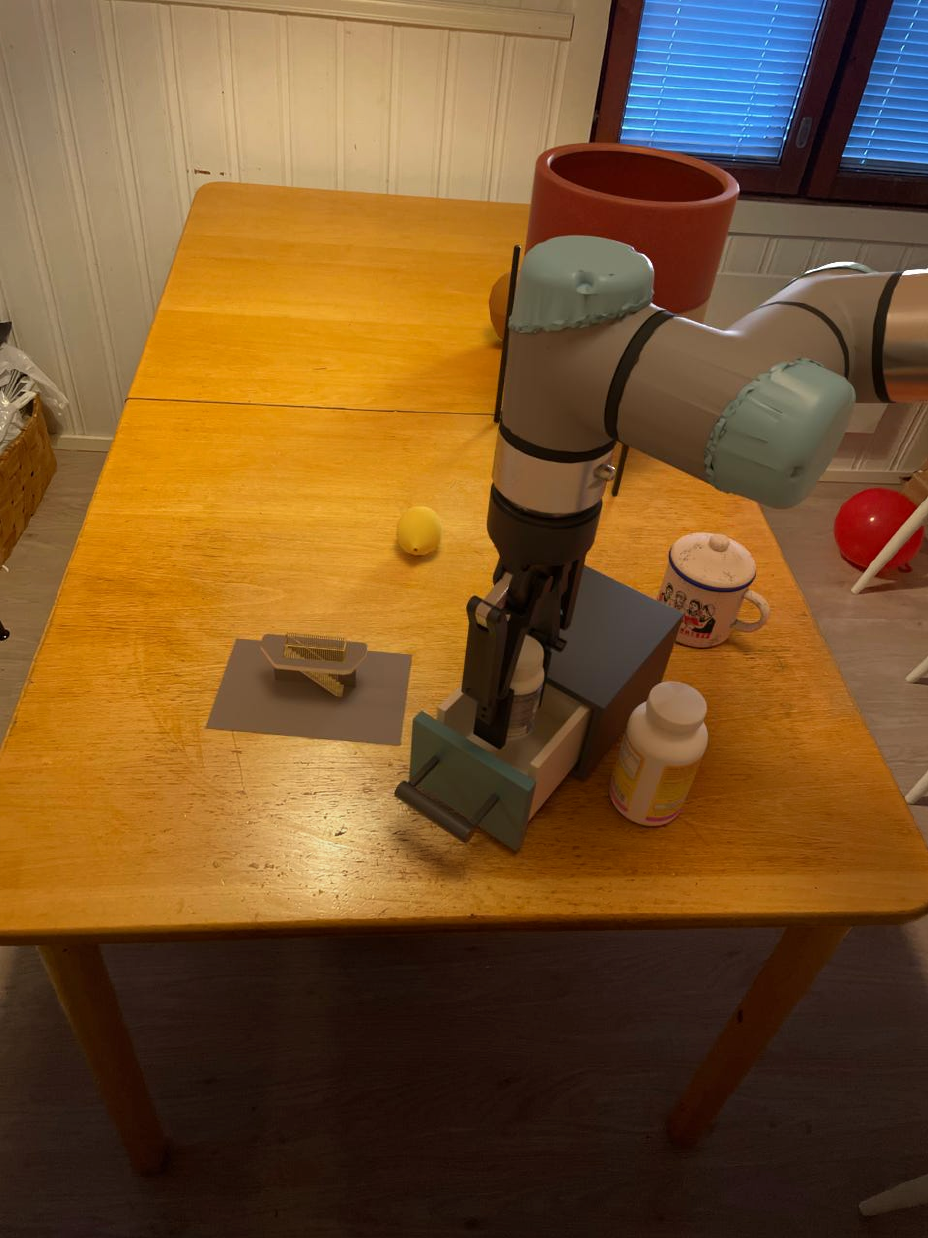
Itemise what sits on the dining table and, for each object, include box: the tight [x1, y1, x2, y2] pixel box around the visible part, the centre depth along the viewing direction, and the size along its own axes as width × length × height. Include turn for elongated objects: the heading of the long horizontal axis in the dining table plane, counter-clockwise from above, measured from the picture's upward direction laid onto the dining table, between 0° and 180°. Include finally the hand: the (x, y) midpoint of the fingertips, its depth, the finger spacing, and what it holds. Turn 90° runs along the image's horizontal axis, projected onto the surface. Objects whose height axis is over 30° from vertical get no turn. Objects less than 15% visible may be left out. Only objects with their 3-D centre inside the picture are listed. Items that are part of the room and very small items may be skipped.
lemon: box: [395, 505, 444, 556], centre depth 101 cm, size 7×5×5 cm
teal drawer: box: [393, 683, 595, 851], centre depth 75 cm, size 19×11×8 cm, turn 144°
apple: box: [488, 269, 520, 342], centre depth 142 cm, size 13×13×11 cm
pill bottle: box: [506, 635, 544, 741], centre depth 71 cm, size 5×5×8 cm
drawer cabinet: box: [526, 564, 684, 783], centre depth 84 cm, size 16×13×10 cm
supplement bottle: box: [608, 680, 709, 827], centre depth 75 cm, size 7×7×13 cm
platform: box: [204, 631, 413, 746], centre depth 83 cm, size 12×18×7 cm, turn 87°
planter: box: [493, 142, 740, 497], centre depth 112 cm, size 24×25×35 cm
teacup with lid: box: [656, 532, 771, 648], centre depth 93 cm, size 12×9×12 cm
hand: (507, 719), depth 74 cm, fingers closed on pill bottle, 5 cm apart
